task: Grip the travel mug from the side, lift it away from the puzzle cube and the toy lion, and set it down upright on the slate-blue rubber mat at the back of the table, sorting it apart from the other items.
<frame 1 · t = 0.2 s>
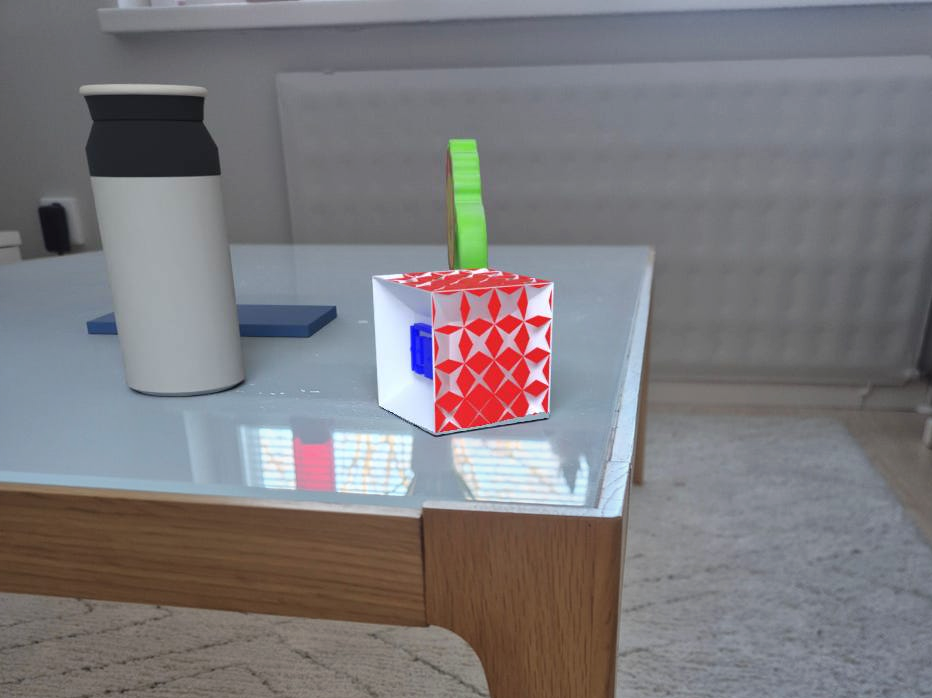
blue mat: (218, 324, 87), on the table
puzzle cube: (461, 415, 59), on the table
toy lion: (465, 347, 79), on the table
travel mug: (187, 387, 66), on the table
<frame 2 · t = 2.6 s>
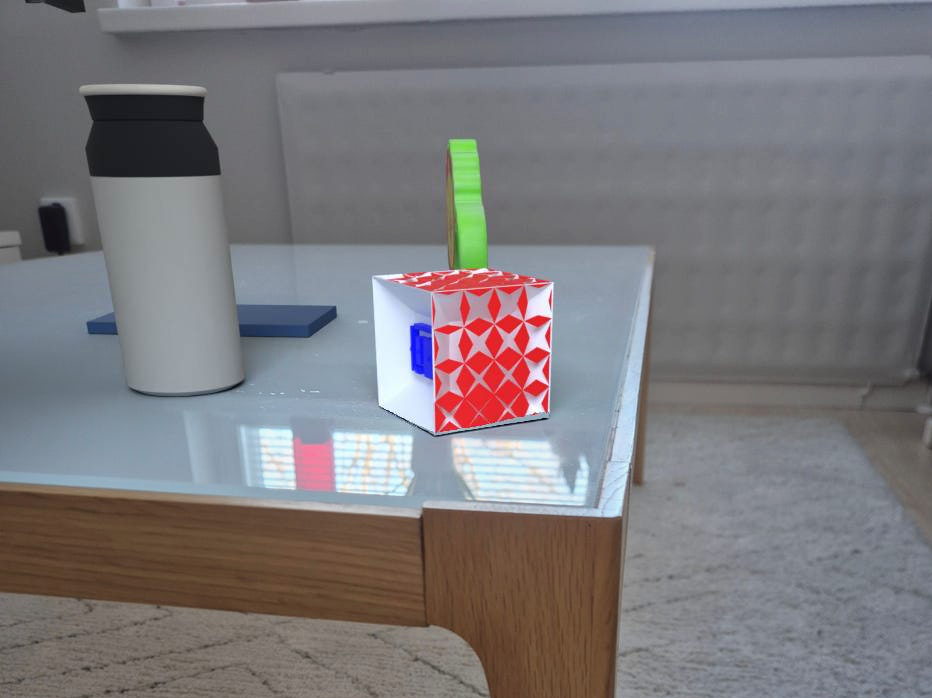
nothing on the table moved.
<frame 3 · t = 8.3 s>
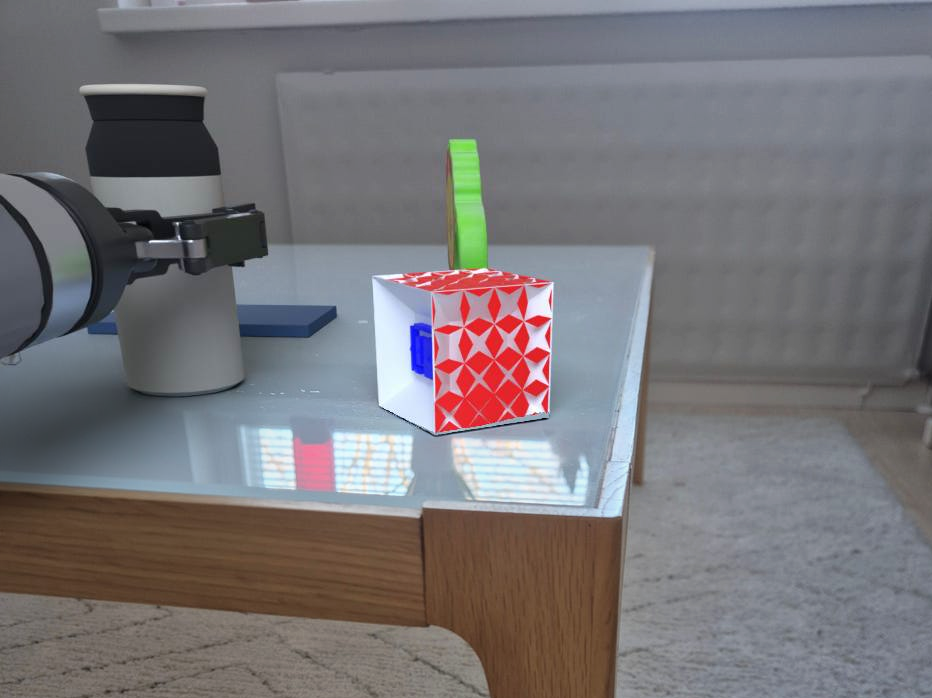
hand: (191, 224, 65), 10 cm above the table, tool horizontal, fingers closed on travel mug, 8 cm apart
travel mug: (187, 387, 66), on the table, touching gripper
everything else where it was.
when the fingers open (11 cm above the table, at t = 16.2 s): travel mug stays where it is, resting on blue mat.
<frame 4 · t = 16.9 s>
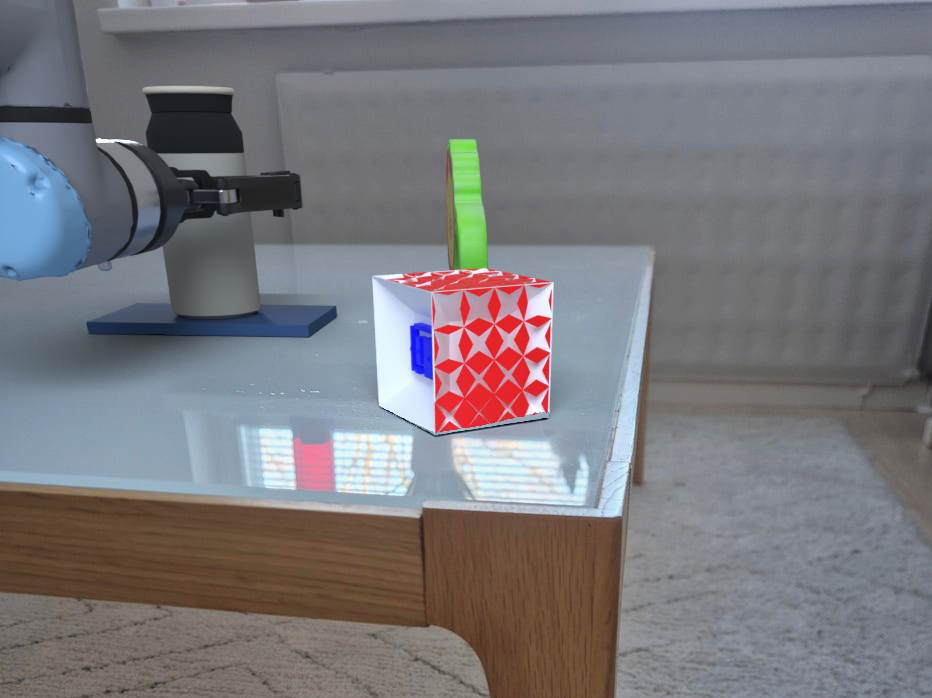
hand: (213, 186, 85), 11 cm above the table, tool horizontal, fingers open, 13 cm apart
travel mug: (217, 315, 87), point 1 cm above the table, touching blue mat
everything else where it was.
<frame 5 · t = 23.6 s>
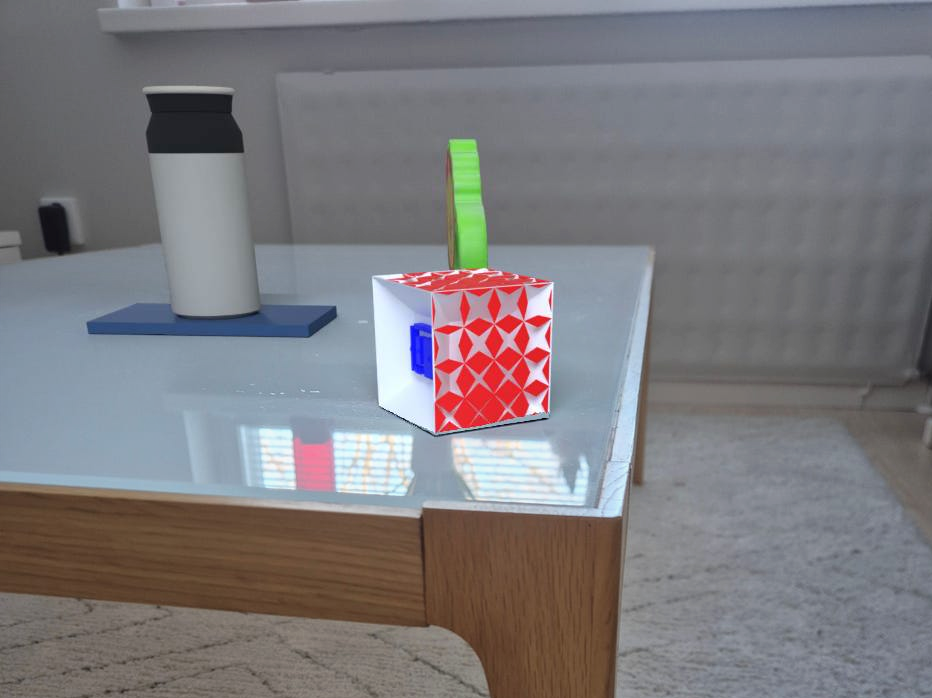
nothing on the table moved.
at the end: travel mug inside the target area on the blue mat (0.0 cm from its centre), point 0.8 cm above the blue mat's base; travel mug tilted 0°; puzzle cube moved 0.2 cm from its start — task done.
